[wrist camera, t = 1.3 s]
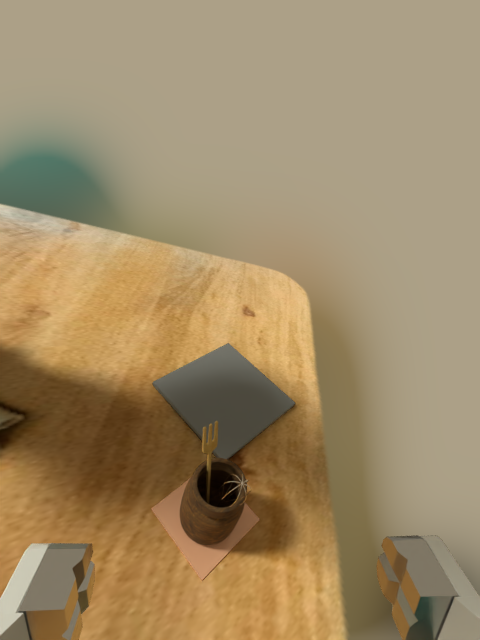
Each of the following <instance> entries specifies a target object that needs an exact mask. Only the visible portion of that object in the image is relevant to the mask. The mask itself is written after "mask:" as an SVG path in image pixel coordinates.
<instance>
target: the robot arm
mask: <svg viewBox="0 0 480 640" xmlns="http://www.w3.org/2000/svg"><path fill="white" fill-rule="evenodd" d="M382 548H383V550H384V553H383V554H381V555H380V556H379V557H378V562H377V577H378V581H379V584H380V587H381V590H382V592H383V595H384V596H385V597H386V598H387V599H388V600H389V601H390V602H391V603H392V604H393V609H392V616H393V619H394V621H395V623H396V625H397V628H398V630H399V633H400V635H401V637H402V640H480V596H479V595H478V593H477V592H476V590H475V589H474V587H473V586H472V584H471V583H470V581H469V580H468V578H467V577H466V575H465V574H464V572H463V571H462V569H461V568H460V566H459V565H458V563H457V561H456V560H455V558H454V557H453V555H452V554H451V553H450V551H449V549H448V548H447V546H446V545H445V543H444V542H443V540H442V539H441V538H440V537H438V536H396V537H395V536H394V537H386V538H385V539H384V540H383V543H382ZM92 554H93V548H92V544H73V543H40V544H31V545H30V546H29V547H28V548H27V549H26V550H25V552H24V554H23V556H22V558H21V560H20V562H19V564H18V566H17V568H16V570H15V571H14V573H13V575H12V577H11V579H10V581H9V583H8V585H7V587H6V589H5V591H4V593H3V594H2V596H1V598H0V640H79V637H80V634H81V630H82V627H83V626H82V618H81V614H82V613H83V612H84V611H85V610H86V609H87V608H88V607H89V603H90V600H91V596H92V592H93V587H94V581H95V564H94V563H93V562H91V561H90V560H91V557H92Z"/></svg>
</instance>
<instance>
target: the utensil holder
mask: <svg viewBox="0 0 480 640" xmlns="http://www.w3.org/2000/svg"><path fill="white" fill-rule="evenodd" d="M217 443H218V421H215V427H214V439H213V440H212V424H209V433H208V442H207V443H206V427H203V437H202V452H203V453H204V454H207V461H205V462H203V463H202V464H201V465H200V466H199V467H198V468H197V469H196V471H195V472H194V474H193V476H192V477H191V478H190V479H189V481H188V483H187V485H186V487H185V490H184V493H183V497H182V501H181V505H180V522H181V525H182V528H183V530H184V532H185V533H186V535H187V536H188V537H189V538H190V539H191V540H193V541H194V542H196V543H198V544H201V545H215V544H218V543H220V542H222V541H223V540H225V539H226V538H227V537H228V536H229V535H230V534H231V532H232V531H233V529H234V528H235V526H236V524H237V522H238V521H239V519H240V517H241V514H242V512H243V509H244V504H245V500H246V499H245V498H246V492H247V486H248V485H247V482H248V481H249V479H248V480H246V479H245V476H244V474H243V472H242V471H241V469H240V468H239V467H238V466H237V465H236V464H235V463H233V462H232V461H230V460H227V459H224V458H212V459H211V454H212V451H213V450H214V449H215V448H216V447H217ZM246 481H247V482H246ZM248 487H249V486H248ZM249 488H250V487H249ZM250 489H251V488H250ZM250 492H251V491H250ZM250 492H249V493H250ZM249 493H248V494H249ZM248 494H247V495H248Z"/></svg>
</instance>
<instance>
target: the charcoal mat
mask: <svg viewBox="0 0 480 640" xmlns="http://www.w3.org/2000/svg"><path fill="white" fill-rule="evenodd" d="M153 386H154V387H155V388H156V389H157V390H158V392H159V393H160V394H161V395H162V396H163V397H164V398H165V399H166V401H167V402H168V403H169V404H170V405H171V406H172V407H173V409H174V410H175V411H176V412H177V413H178V414H179V415H180V416H181V418H182V419H183V420H184V421H185V422H186V423H187V424H188V425H189V427H190V428H191V429H192V430H193V431H194V432H195V433H196V435H197V436H198V437H199V438H200V439H201V440H202V437H203V427H206V443H207V442H208V433H209V424H212V440H213V439H214V427H215V421H218V443H217V447H216V448H215V449H214V450H213V451H212V453H213V454H214V455H215V456H216V457H217V458H224V459H227V460H228V459H229V458H230V457H231V456H233V455H234V454H235V453H236V452H238V451H239V450H240V449H241V448H243V447H244V446H245V445H246V444H247V443H249V442H250V441H251V440H252V439H254V438H255V437H256V436H257V435H259V434H260V433H261V432H262V431H263V430H265V429H266V428H267V427H268V426H270V425H271V424H272V423H273V422H275V421H276V420H277V419H278V418H280V417H281V416H282V415H283V414H284V413H286V412H287V411H288V410H289V409H291V408H292V407H293V406H294V405H295V402H294V401H293V400H292V399H290V398H289V397H288V396H287V395H286V394H285V393H284V392H283V391H281V390H280V389H279V388H278V387H277V386H276V385H275V384H274V383H272V382H271V381H270V380H269V379H268V378H267V377H266V376H265V375H263V374H262V373H261V372H260V371H259V370H258V369H257V368H256V367H255V366H253V365H252V364H251V363H250V362H249V361H248V360H247V359H246V358H244V357H243V356H242V355H241V354H240V353H239V352H238V351H237V350H235V349H234V348H233V347H232V346H231V345H230V344H229V343H228V344H226V345H224V346H222V347H220V348H218V349H216V350H214V351H212V352H210V353H208V354H206V355H204V356H202V357H200V358H198V359H197V360H195V361H193V362H191V363H189V364H187V365H185V366H183V367H181V368H179V369H177V370H175V371H173V372H171V373H169V374H167V375H166V376H164V377H162V378H160V379H158V380H156V381H154V382H153Z"/></svg>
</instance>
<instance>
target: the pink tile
mask: <svg viewBox="0 0 480 640" xmlns="http://www.w3.org/2000/svg"><path fill="white" fill-rule="evenodd" d="M188 481H189V479H188V480H187V481H186V482H184V483H183V484H182V485H181V486H179V487H178V488H177V489H176V490H174V491H173V492H172V493H170V494H169V495H168V496H167V497H165V498H164V499H163V500H161V501H160V502H159V503H158V504H156V505H155V506H154V507H153V508H151V510H152V511H153V513H154V514H155V515H156V517H157V518H158V520H159V521H160V523H161V524H162V525H163V527H164V528H165V530H166V531H167V532H168V534H169V535H170V537H171V538H172V539H173V541H174V542H175V544H176V545H177V547H178V548H179V549H180V551H181V552H182V554H183V555H184V556H185V558H186V559H187V561H188V562H189V563H190V565H191V566H192V568H193V569H194V571H195V572H196V573H197V575H198V576H199V578H200V579H201V580H203V579H204V578H205V577H206V576H207V575H208V574H209V573H210V572H211V570H212V569H213V568H214V567H215V566H216V565H217V564H218V563H219V562H220V561H221V560H222V559H223V558H224V557H225V556H226V555H227V554H228V553H229V552H230V550H231V549H232V548H233V547H234V546H235V545H236V544H237V543H238V542H239V541H240V540H241V539H242V538H243V537H244V536H245V535H246V534H247V533H248V532H249V531H250V529H251V528H252V527H253V526H254V525H255V524H256V523H257V522H258V521H259V520H260V519H259V518H258V517H257V515H256V514H255V513H254V512H253V511H252V510H251V509H250V507H249V506H248V505H247V504H246V503H245V504H244V509H243V512H242V514H241V517H240V519H239V521H238V522H237V524H236V526H235V528H234V529H233V531H232V532H231V534H230V535H229V536H228V537H227V538H226V539H225V540H223V541H222V542H220V543H218V544H215V545H201V544H198V543H196V542H194V541H193V540H191V539H190V538H189V537H188V536H187V535H186V533H185V532H184V530H183V528H182V525H181V522H180V505H181V501H182V497H183V493H184V490H185V487H186V485H187V483H188Z"/></svg>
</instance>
